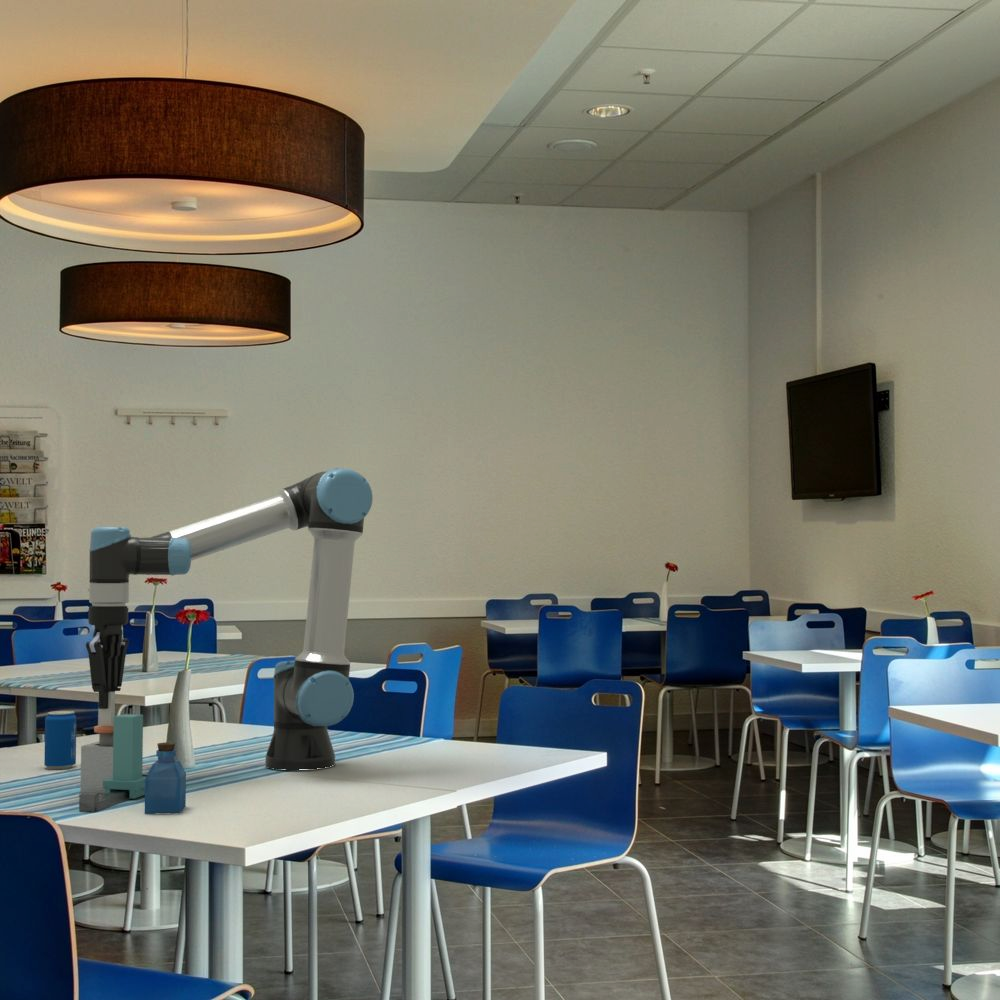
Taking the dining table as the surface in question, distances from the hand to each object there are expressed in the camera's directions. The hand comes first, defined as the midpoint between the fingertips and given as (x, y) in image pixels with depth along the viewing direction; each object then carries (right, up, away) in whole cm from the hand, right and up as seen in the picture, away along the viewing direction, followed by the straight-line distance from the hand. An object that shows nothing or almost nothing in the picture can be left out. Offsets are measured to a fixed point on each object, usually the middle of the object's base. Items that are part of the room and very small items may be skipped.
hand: (106, 725), depth 256 cm
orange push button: (0, -6, 0) cm, 6 cm away
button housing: (0, -13, -1) cm, 13 cm away
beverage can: (-18, -14, +27) cm, 36 cm away
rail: (+6, -12, -10) cm, 17 cm away
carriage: (+6, -12, -8) cm, 16 cm away
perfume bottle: (+17, -12, -21) cm, 29 cm away
